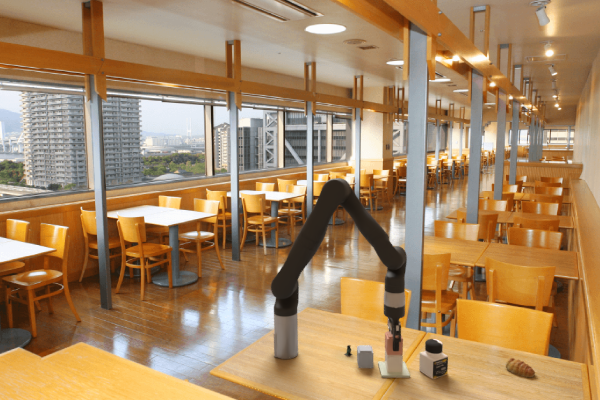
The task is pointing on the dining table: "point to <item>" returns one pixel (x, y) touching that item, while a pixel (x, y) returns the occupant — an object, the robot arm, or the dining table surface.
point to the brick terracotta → (390, 345)
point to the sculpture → (348, 351)
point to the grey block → (365, 356)
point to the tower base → (393, 374)
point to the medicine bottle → (433, 359)
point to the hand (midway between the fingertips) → (393, 345)
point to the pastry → (519, 368)
